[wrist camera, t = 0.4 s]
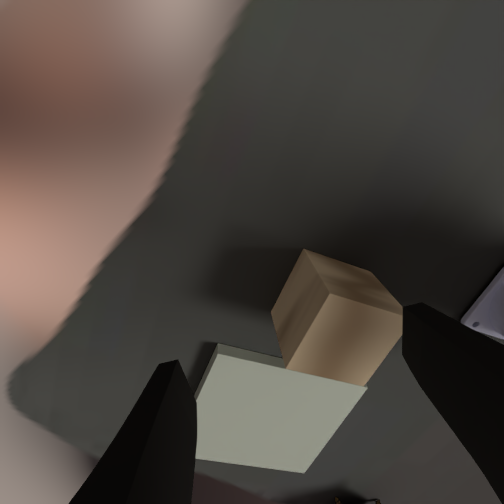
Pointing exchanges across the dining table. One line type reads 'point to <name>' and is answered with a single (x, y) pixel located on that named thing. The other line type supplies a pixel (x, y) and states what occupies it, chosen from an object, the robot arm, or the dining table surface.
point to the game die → (340, 502)
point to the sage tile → (267, 411)
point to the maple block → (335, 320)
